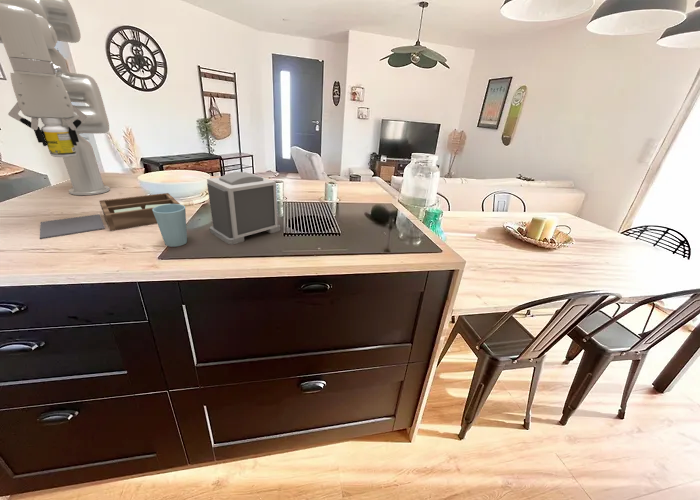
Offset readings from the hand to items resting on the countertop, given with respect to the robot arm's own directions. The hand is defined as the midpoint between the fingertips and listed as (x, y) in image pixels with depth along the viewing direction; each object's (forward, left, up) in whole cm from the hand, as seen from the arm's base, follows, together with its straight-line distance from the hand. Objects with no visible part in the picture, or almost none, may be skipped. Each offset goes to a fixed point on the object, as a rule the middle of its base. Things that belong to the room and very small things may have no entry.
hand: (60, 144), depth 80 cm
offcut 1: (+6, +11, -24) cm, 26 cm away
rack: (+2, +15, -23) cm, 28 cm away
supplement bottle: (0, 0, -3) cm, 3 cm away
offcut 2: (+6, +19, -24) cm, 31 cm away
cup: (+28, +18, -24) cm, 41 cm away
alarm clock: (+30, +38, -24) cm, 54 cm away
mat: (0, -3, -23) cm, 24 cm away
